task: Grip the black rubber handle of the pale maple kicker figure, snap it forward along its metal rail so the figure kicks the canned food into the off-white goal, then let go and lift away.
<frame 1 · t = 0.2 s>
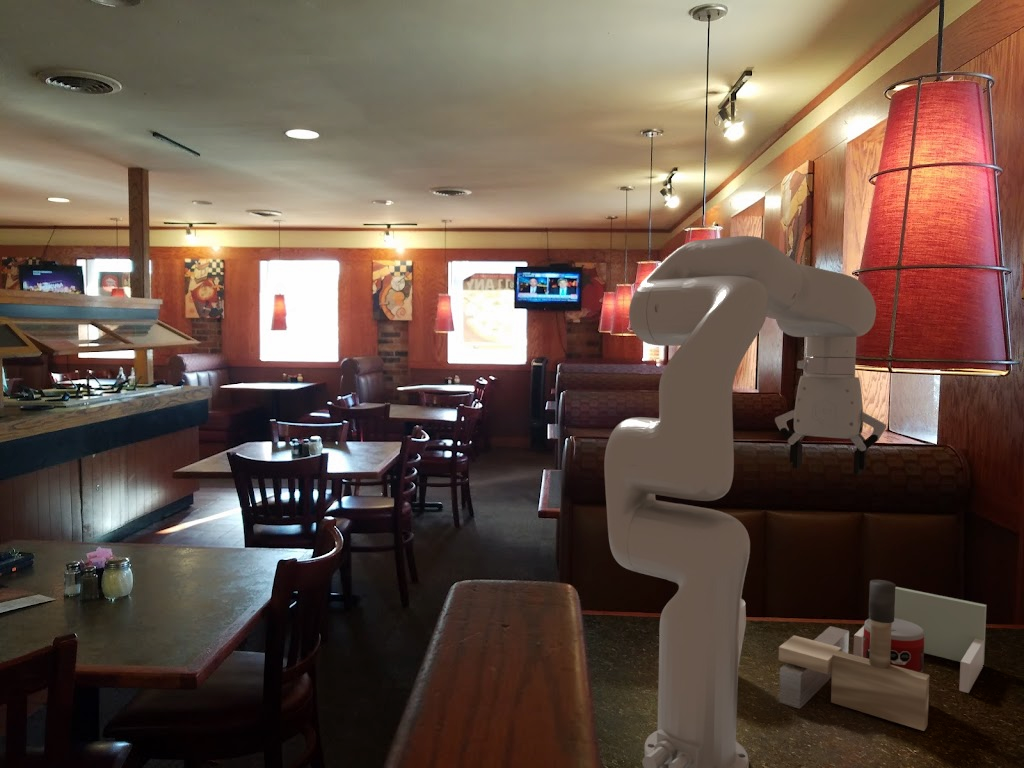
hand: (826, 470, 124), 31 cm above the table, fingers open, 9 cm apart
canned food: (890, 700, 110), on the table
goal: (917, 664, 122), on the table
cup: (714, 676, 117), on the table
kicker figure: (853, 642, 106), point 10 cm above the table, slide at 0.0 cm
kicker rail: (815, 680, 116), on the table
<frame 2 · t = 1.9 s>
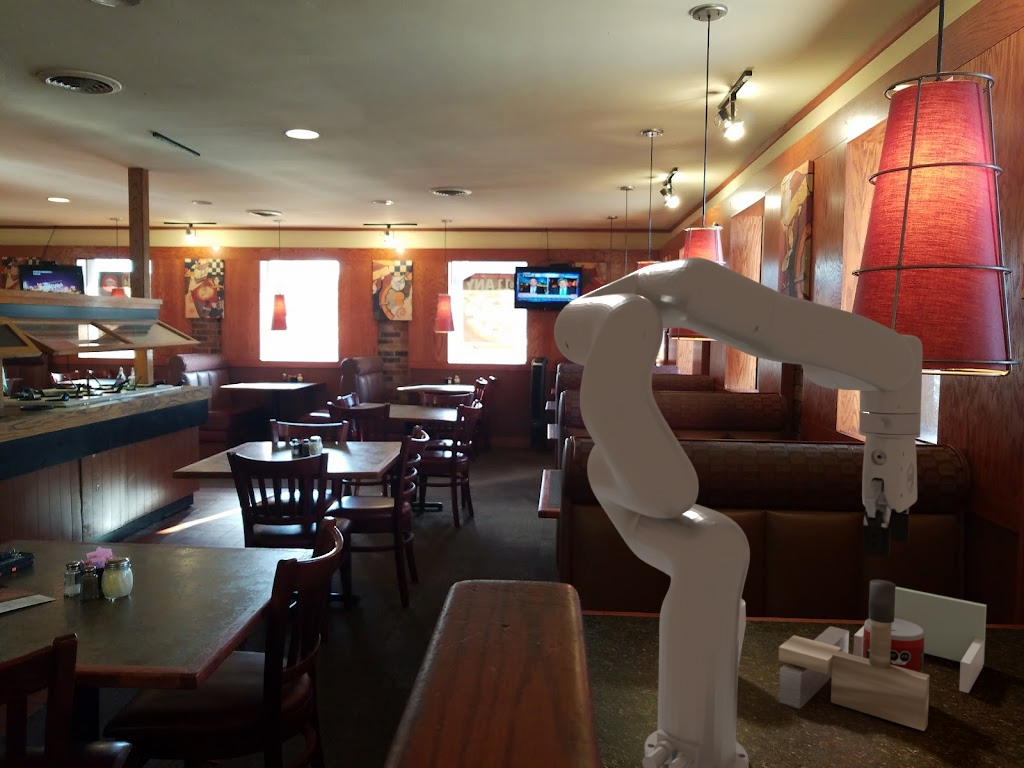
hand: (886, 547, 103), 24 cm above the table, fingers open, 9 cm apart
nothing on the table moved.
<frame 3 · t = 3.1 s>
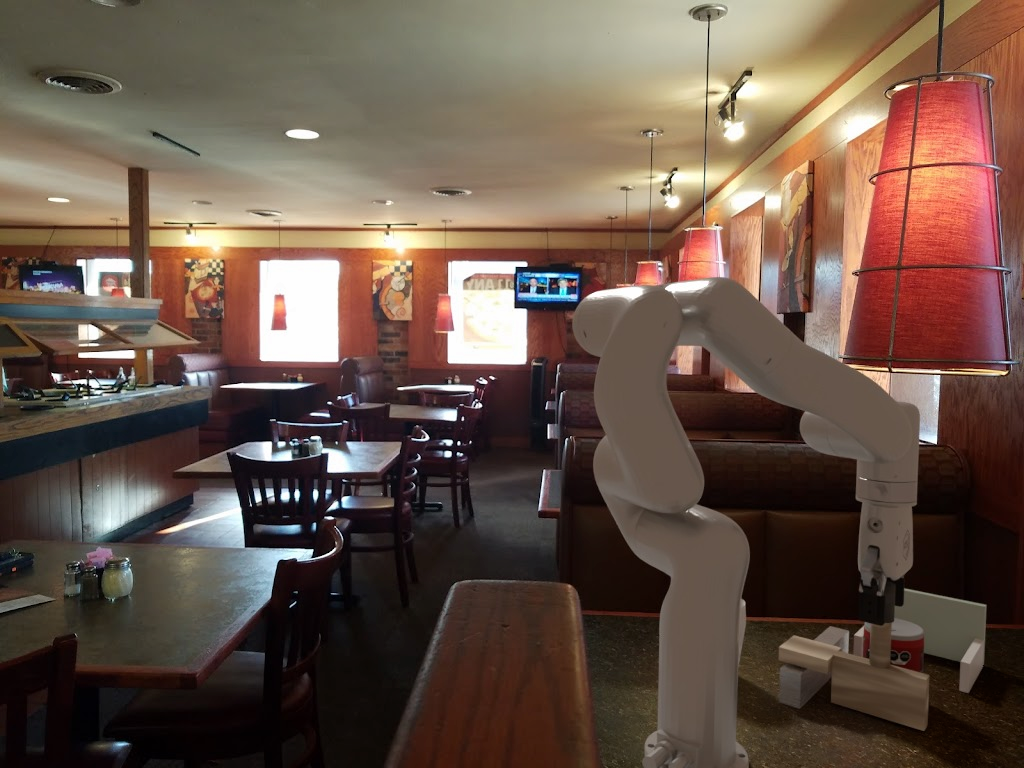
hand: (881, 613, 103), 15 cm above the table, fingers open, 9 cm apart
nothing on the table moved.
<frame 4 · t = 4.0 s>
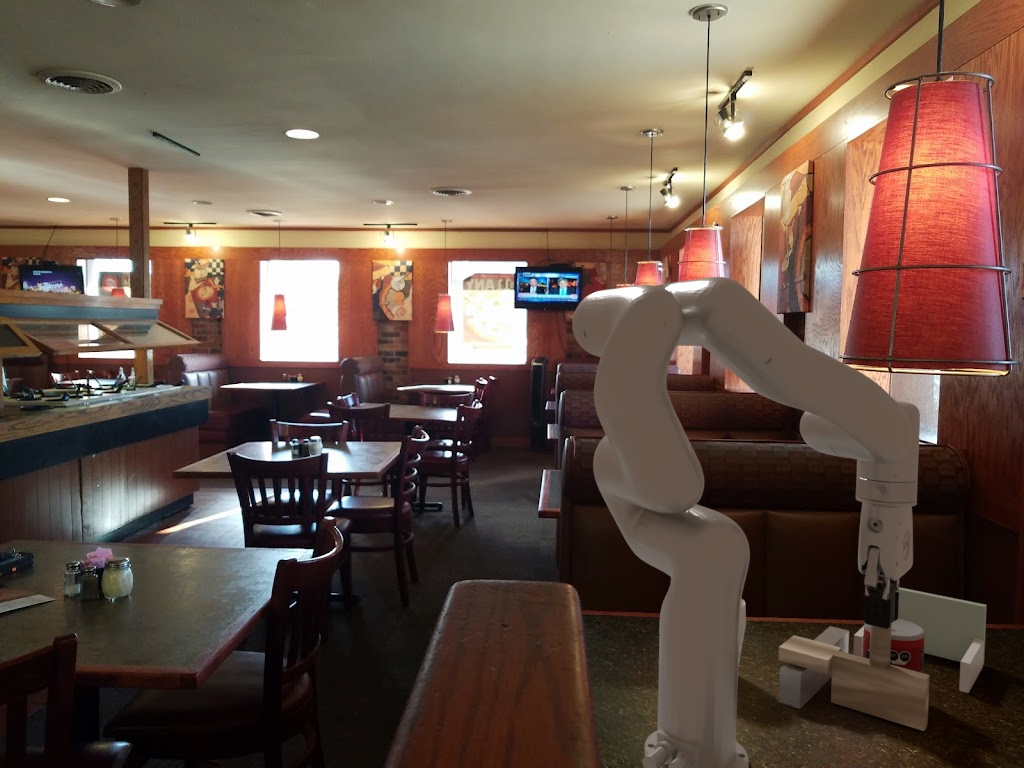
hand: (881, 620, 104), 14 cm above the table, fingers closed on kicker figure, 3 cm apart
kicker figure: (853, 642, 106), point 10 cm above the table, slide at 0.0 cm, touching gripper
everything else where it was.
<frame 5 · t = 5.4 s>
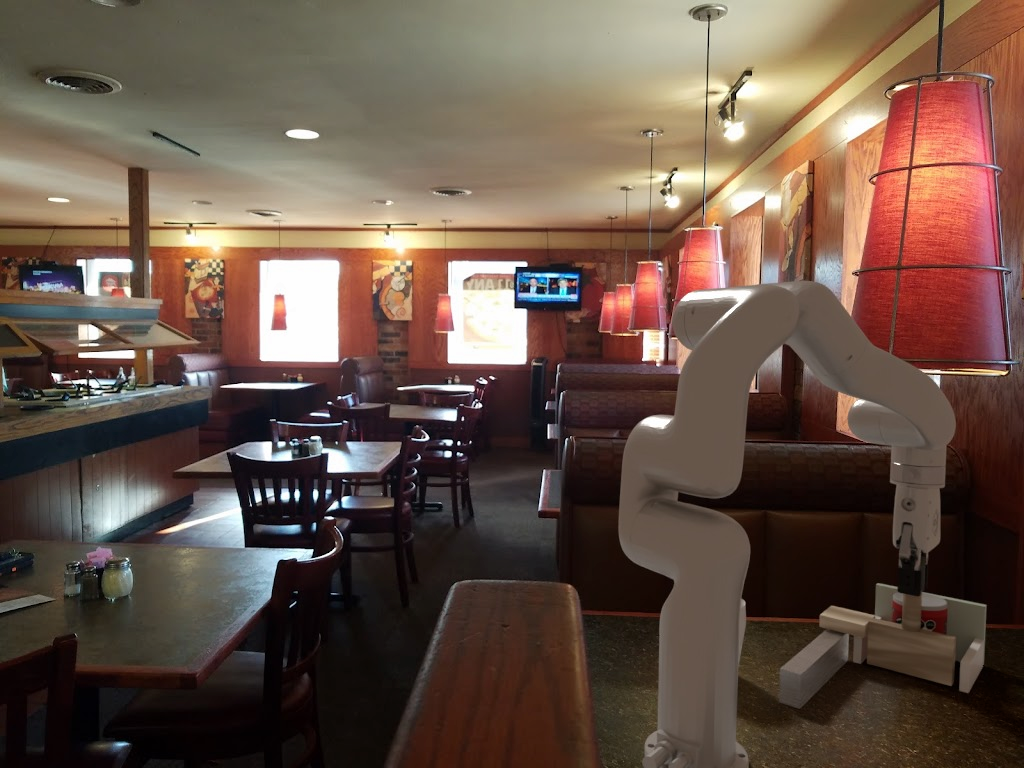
hand: (912, 590, 117), 14 cm above the table, fingers closed on kicker figure, 3 cm apart
canned food: (917, 666, 122), on the table, touching kicker figure
kicker figure: (887, 609, 119), point 10 cm above the table, slide at 17.7 cm, touching canned food, gripper
everything else where it was.
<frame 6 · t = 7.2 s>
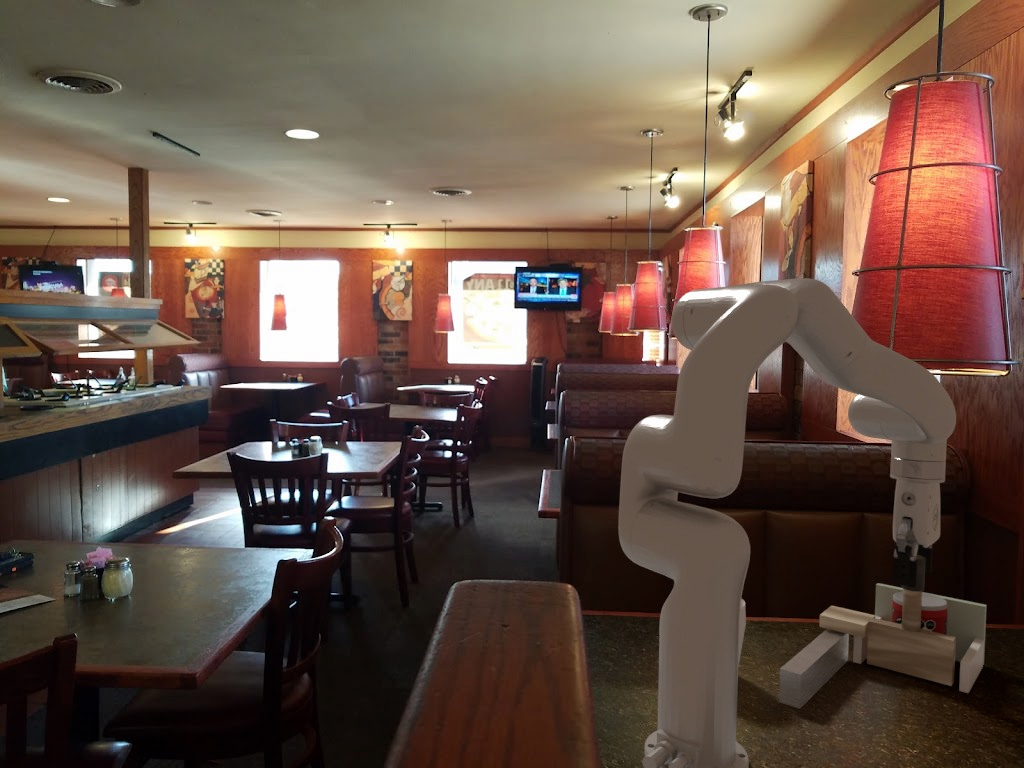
hand: (912, 578, 117), 16 cm above the table, fingers open, 9 cm apart
kicker figure: (887, 609, 119), point 10 cm above the table, slide at 17.7 cm, touching canned food
everything else where it was.
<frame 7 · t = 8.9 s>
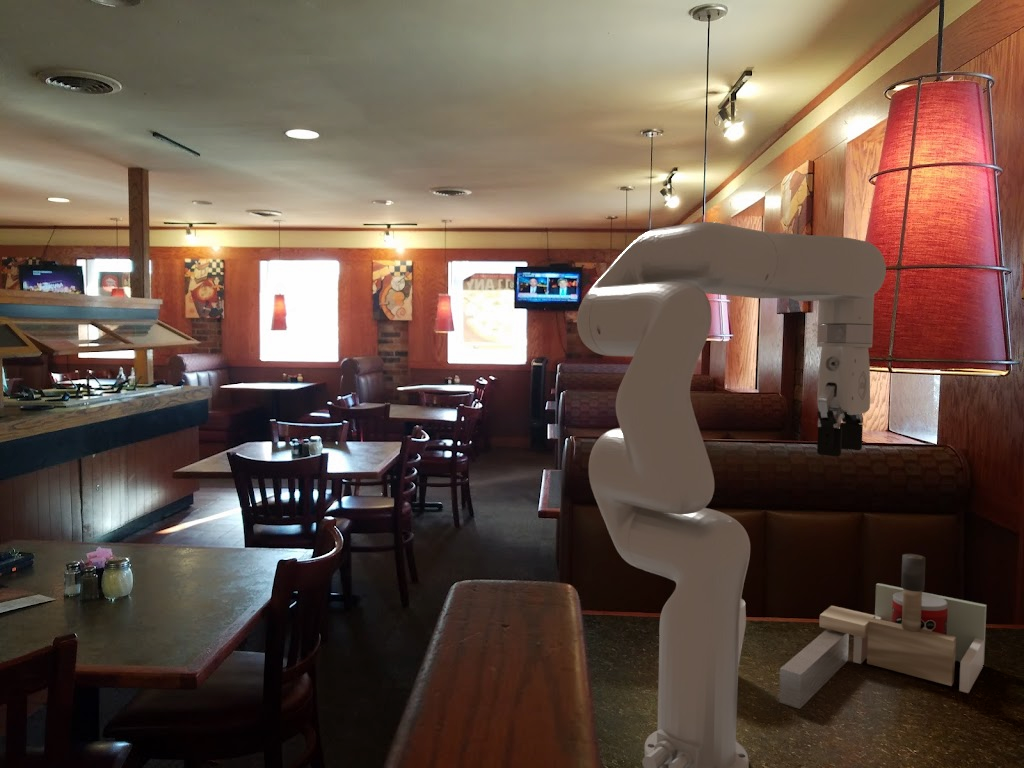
hand: (839, 452, 111), 36 cm above the table, fingers open, 9 cm apart
nothing on the table moved.
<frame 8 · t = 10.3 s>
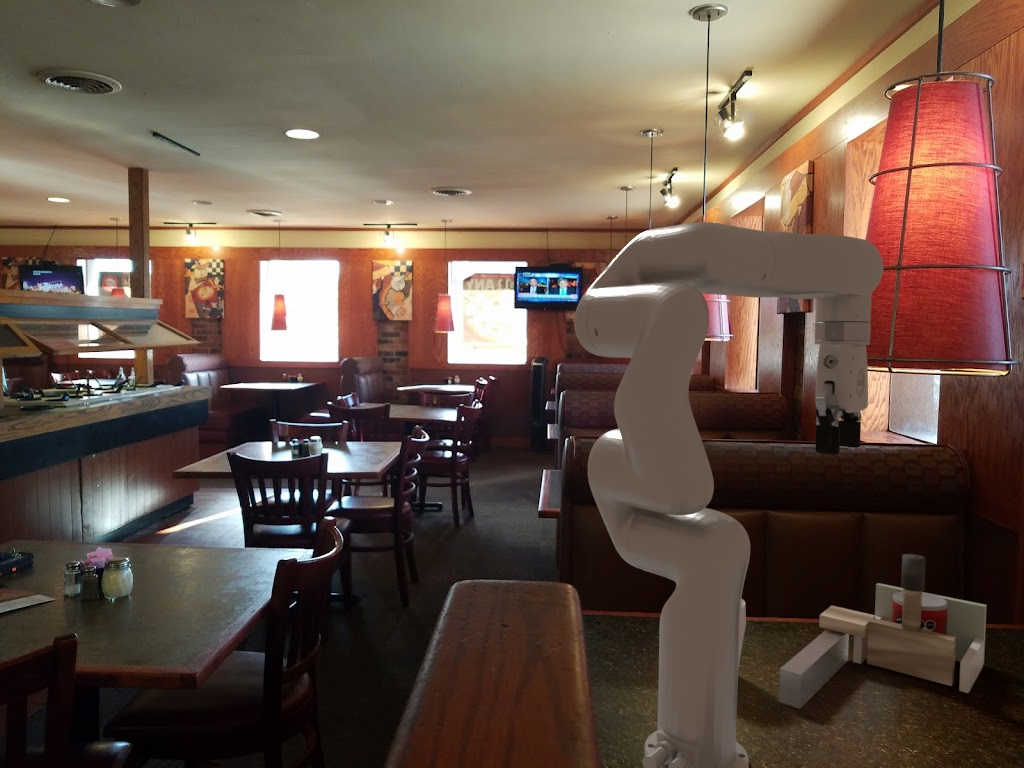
hand: (838, 449, 111), 36 cm above the table, fingers open, 9 cm apart
nothing on the table moved.
at the end: canned food inside the target area (1.1 cm from its centre), on the table; canned food tilted 0°; kicker figure slide at 17.7 cm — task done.
